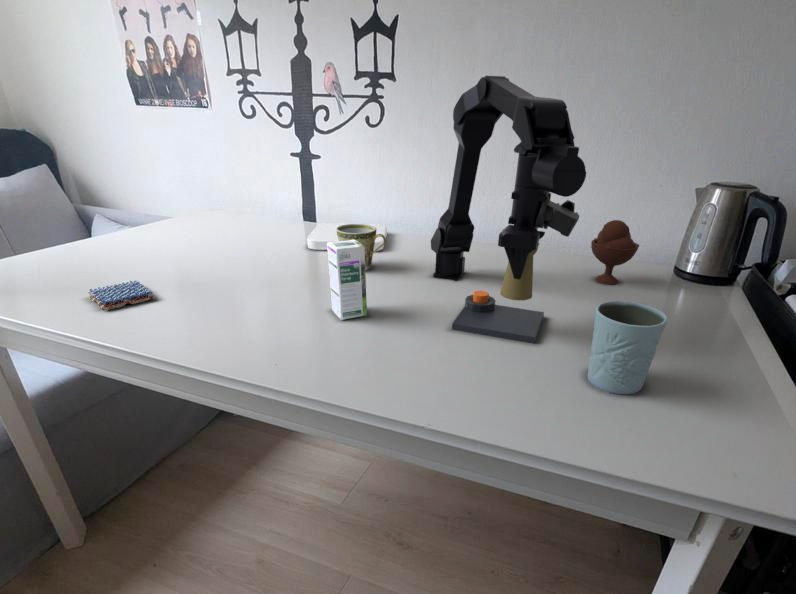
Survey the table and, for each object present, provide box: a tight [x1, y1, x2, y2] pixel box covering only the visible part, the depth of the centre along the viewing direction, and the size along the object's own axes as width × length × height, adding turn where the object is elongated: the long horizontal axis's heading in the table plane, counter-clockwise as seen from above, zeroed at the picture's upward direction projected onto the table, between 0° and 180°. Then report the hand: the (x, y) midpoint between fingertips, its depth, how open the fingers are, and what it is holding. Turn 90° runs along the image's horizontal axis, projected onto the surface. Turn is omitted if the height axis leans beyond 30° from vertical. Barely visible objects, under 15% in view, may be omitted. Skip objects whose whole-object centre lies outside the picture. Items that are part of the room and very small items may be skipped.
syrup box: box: [326, 239, 368, 321], centre depth 97 cm, size 6×6×14 cm
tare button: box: [472, 290, 490, 303], centre depth 101 cm, size 3×3×2 cm
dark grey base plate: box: [451, 294, 545, 345], centre depth 97 cm, size 16×14×3 cm
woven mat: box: [88, 280, 156, 311], centre depth 103 cm, size 10×11×2 cm
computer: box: [306, 222, 388, 252], centre depth 147 cm, size 22×22×3 cm
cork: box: [499, 246, 539, 301], centre depth 89 cm, size 6×6×11 cm
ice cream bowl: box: [590, 219, 640, 286], centre depth 118 cm, size 11×11×15 cm
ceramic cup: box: [336, 223, 387, 272], centre depth 123 cm, size 13×10×10 cm
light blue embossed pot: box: [587, 300, 668, 395], centre depth 76 cm, size 10×10×12 cm
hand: (519, 275), depth 90 cm, fingers closed on cork, 4 cm apart
